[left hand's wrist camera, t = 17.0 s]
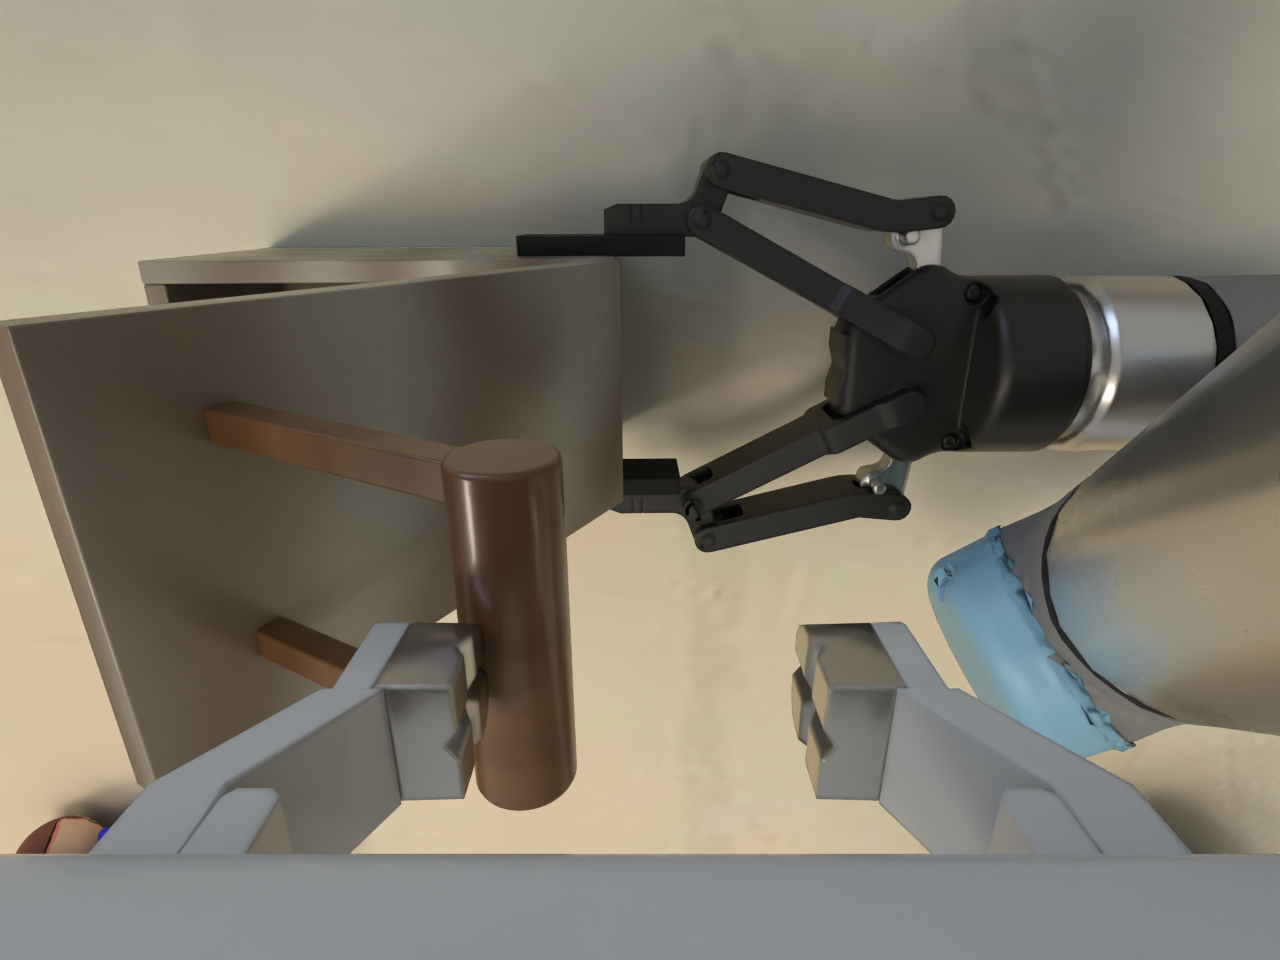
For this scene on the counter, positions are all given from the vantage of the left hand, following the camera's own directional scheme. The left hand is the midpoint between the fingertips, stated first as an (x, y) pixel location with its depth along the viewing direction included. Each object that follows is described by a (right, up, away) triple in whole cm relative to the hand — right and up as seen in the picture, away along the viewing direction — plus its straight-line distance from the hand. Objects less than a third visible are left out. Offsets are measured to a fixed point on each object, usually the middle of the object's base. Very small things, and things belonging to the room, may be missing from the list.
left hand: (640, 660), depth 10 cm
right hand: (-5, +7, +19) cm, 21 cm away
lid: (-6, +4, +9) cm, 12 cm away
